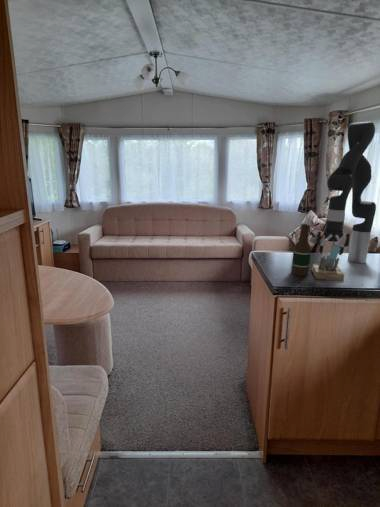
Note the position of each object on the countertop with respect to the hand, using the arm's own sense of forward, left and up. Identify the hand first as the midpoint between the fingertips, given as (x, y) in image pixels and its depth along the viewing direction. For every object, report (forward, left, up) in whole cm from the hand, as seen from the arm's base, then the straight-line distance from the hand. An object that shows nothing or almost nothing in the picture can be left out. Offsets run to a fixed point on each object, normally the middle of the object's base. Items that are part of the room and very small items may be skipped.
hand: (330, 254), depth 159 cm
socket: (-1, 0, -11) cm, 11 cm away
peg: (-1, 0, -7) cm, 7 cm away
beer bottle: (+1, -13, -11) cm, 17 cm away
